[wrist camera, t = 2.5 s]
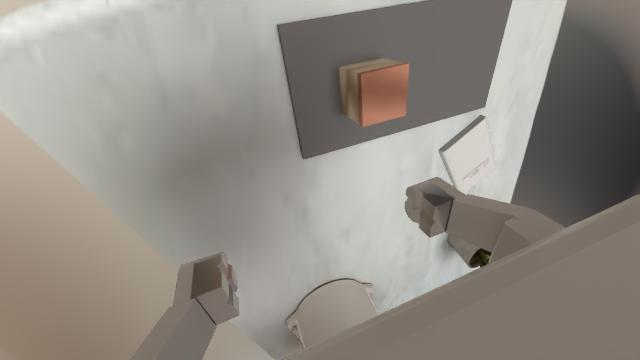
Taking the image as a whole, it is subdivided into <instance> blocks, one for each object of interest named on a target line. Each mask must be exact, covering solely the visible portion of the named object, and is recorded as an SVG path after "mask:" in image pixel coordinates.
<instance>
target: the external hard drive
mask: <svg viewBox="0 0 640 360" xmlns="http://www.w3.org/2000/svg"><path fill="white" fill-rule="evenodd" d="M439 153H440V155H441V157H442V160H443V162H444V164H445V167H446V169H447V171H448V174H449V176H450V178H451V181H452V183H453V185H454V188H456V189H457V190H459V191H460V192H462V193H463V194H464V193H465V192H466V191H467V190H469V189H470V188H471V187H472V186H474V185H475V184H476V183H477V182H479V181H480V180H481V179H482V178H484V177H485V176H486V175H487V174H489V173H490V172H491V171H492V170H494V169H495V167H496V163H495V159H494V153H493V149H492V144H491V139H490V134H489V129H488V125H487V120H486V117H485V116H483V115H480V116H479V117H478V118H477V119H476V120H474V121H473V122H472V123H471V124H470V125H468V126H467V127H466V128H465V129H464V130H462V131H461V132H460V133H459V134H458V135H456V136H455V137H454V138H453V139H451V140H450V141H449V142H448V143H447V144H445V145H444V146H443V147H442V148H441V149H439Z"/></svg>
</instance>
